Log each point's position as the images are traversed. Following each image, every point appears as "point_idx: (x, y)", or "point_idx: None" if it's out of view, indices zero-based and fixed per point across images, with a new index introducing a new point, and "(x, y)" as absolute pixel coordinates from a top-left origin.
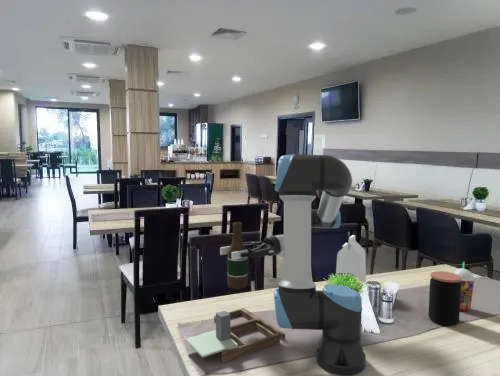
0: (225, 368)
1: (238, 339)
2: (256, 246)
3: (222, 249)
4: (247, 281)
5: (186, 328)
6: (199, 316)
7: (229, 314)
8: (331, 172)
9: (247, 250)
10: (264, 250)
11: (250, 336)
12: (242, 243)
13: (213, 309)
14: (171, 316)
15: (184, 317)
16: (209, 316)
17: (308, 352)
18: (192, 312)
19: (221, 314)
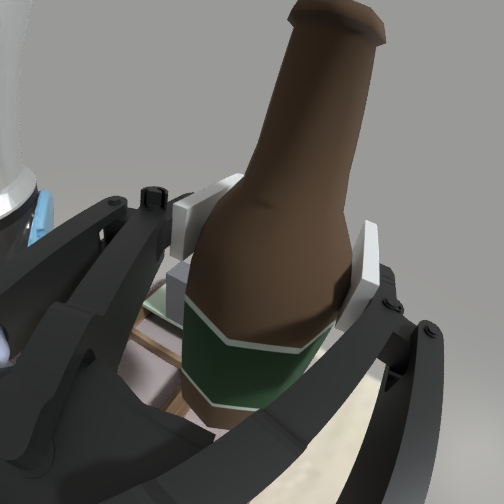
0: (150, 287)
1: (156, 343)
2: (158, 415)
3: (361, 233)
4: (181, 387)
5: (307, 368)
6: (333, 427)
7: (168, 272)
8: None
9: (174, 205)
10: (31, 253)
11: (145, 393)
12: (246, 176)
13: (338, 479)
14: (377, 390)
15: (354, 403)
16: (313, 441)
17: (17, 355)
18: (364, 432)
19: (186, 268)
